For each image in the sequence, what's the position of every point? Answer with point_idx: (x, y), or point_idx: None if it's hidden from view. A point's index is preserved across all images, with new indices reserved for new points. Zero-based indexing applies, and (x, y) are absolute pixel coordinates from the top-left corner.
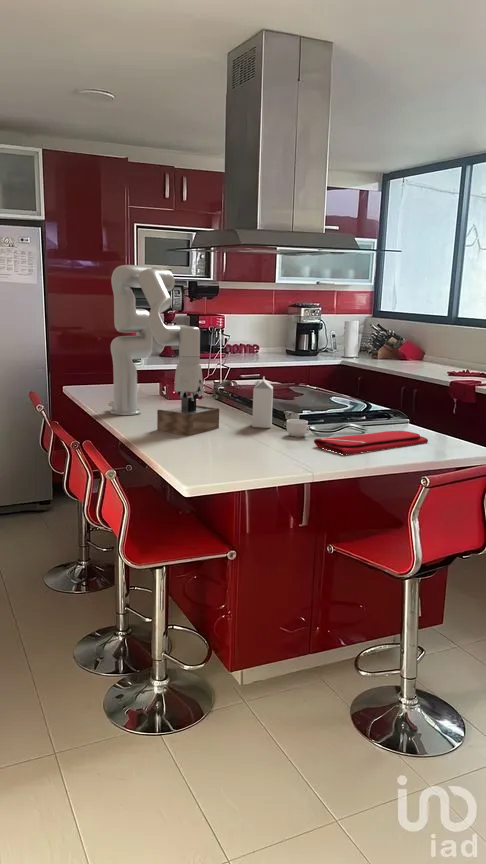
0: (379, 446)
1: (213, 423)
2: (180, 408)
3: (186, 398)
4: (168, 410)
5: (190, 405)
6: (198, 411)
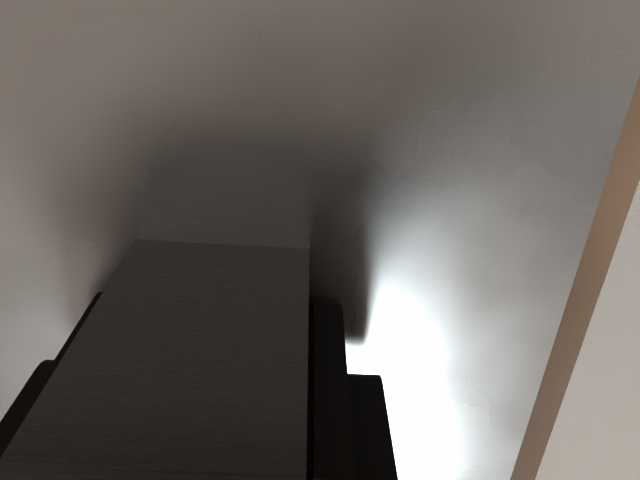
0: None
1: None
2: (462, 417)
3: (58, 472)
4: (571, 112)
5: None
6: (18, 375)
